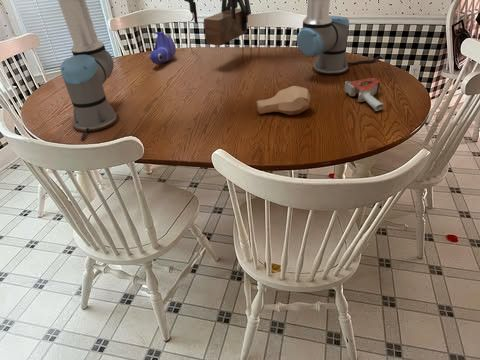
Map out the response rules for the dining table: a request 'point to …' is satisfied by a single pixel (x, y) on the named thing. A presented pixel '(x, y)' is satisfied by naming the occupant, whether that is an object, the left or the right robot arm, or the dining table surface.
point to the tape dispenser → (365, 91)
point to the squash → (286, 101)
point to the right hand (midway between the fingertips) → (237, 29)
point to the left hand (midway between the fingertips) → (215, 20)
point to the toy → (162, 49)
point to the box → (223, 27)
